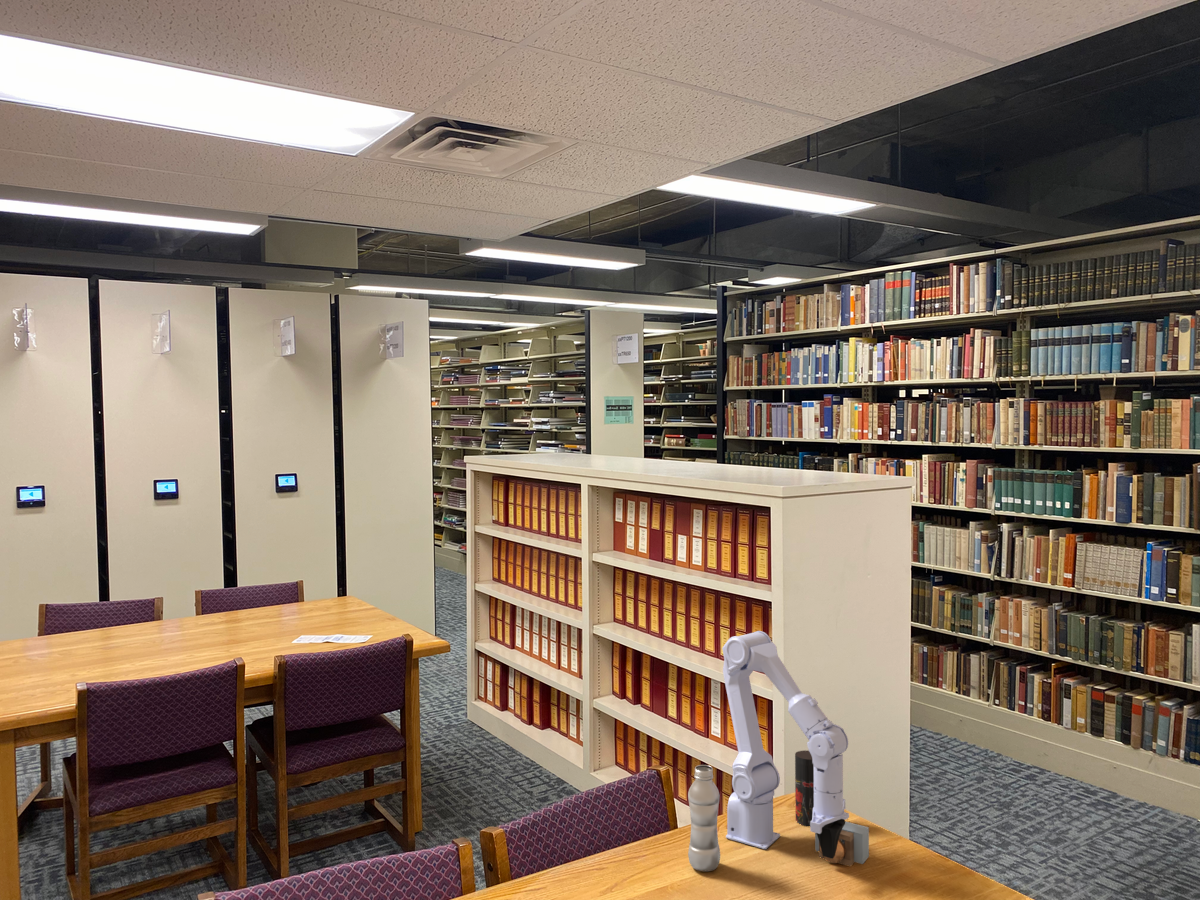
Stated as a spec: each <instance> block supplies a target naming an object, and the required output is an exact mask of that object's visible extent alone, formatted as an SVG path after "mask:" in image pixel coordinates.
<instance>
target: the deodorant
mask: <svg viewBox="0 0 1200 900" xmlns="http://www.w3.org/2000/svg"><path fill="white" fill-rule="evenodd" d="M794 765H795V766H794V772H795V774H794V776H795V778H794V780H795V783H794V785H795V787H794V788H795V789H794V791H795V793H794V798H795V803H794V804H795V806H794V807H795V813H794V814H795V822H796V821H797V822H796V824H798V823H799V824H798V825H800V824H801V826H803V825H804V827H807V826H810V822H811V820H812V815H813V807H814V764H813V761H812V755H811V754H810V752H809V750H806V749H805V750H798V751H796V752H795V753H794Z"/></svg>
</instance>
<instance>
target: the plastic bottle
mask: <svg viewBox="0 0 1200 900" xmlns="http://www.w3.org/2000/svg"><path fill="white" fill-rule="evenodd" d="M713 771H714V769H713V767H712V766H710V765H707V764H699V765H696V766H695V767H694V774H693V775H694V776H693V777H694V779H695V780H694V781H693V782H692V784H691V786H690V787H689V789H688V792H687V799H688V804H689V812H690V815H689V816H690V836H689V837H690V841H689V843H688V844H689V846H688V853H687V855H688V856H687V857H688V861H689V864H690V866H691V867H692V868H693V870H694V869H695V870H696V871H699V872H711V871H714V870H716V869H717V868H718V866H719V865H720V861H721V848H720V845H719V837H718V813H719V804H720V792H719V789H718V787H717V786H716V784H715V783H714V780H713V779H714V774H713V773H714V772H713Z"/></svg>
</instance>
